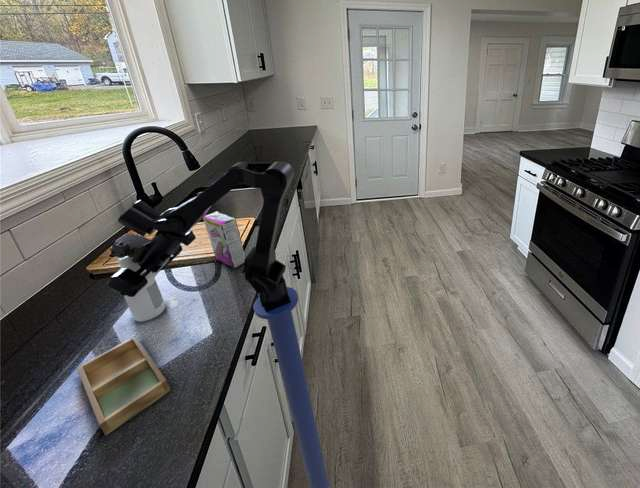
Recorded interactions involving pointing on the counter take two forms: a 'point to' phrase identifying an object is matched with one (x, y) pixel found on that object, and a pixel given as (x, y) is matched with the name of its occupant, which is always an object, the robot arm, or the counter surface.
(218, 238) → the candy bar box
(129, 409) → the holder
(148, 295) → the spray bottle
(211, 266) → the counter surface
